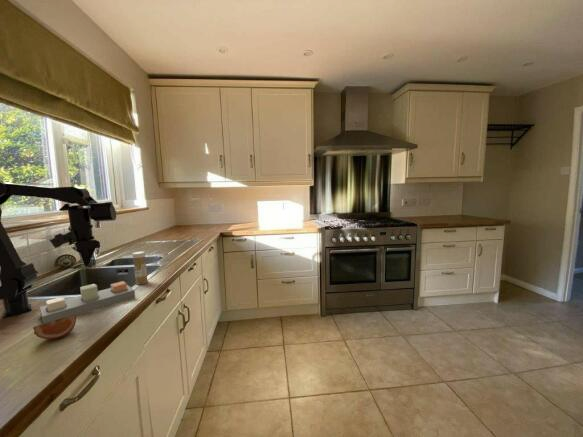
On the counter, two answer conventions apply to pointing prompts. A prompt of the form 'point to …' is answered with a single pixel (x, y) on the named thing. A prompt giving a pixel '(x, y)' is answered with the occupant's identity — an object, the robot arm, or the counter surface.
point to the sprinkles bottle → (140, 267)
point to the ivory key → (55, 304)
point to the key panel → (86, 304)
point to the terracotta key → (118, 287)
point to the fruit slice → (56, 328)
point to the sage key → (89, 292)
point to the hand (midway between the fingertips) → (86, 265)
